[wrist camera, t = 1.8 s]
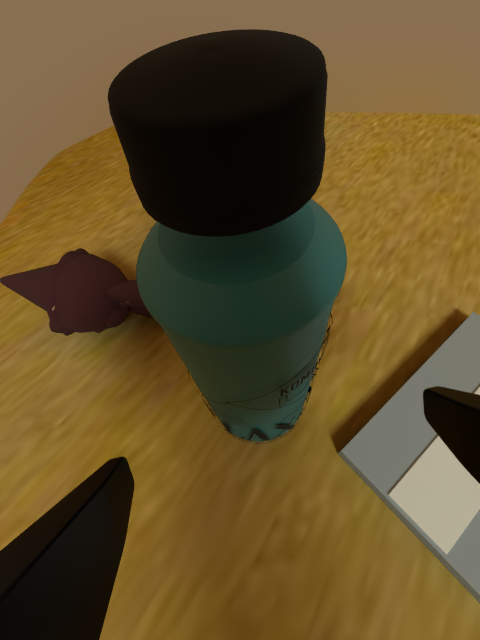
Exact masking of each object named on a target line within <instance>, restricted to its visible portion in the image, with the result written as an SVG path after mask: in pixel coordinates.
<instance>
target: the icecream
mask: <svg viewBox="0 0 480 640" xmlns="http://www.w3.org/2000/svg"><path fill="white" fill-rule="evenodd" d="M0 282H1V283H2V284H3V285H5V286H6V287H8V288H10V289H11V290H13V291H15V292H16V293H18V294H20V295H21V296H23V297H24V298H26V299H28V300H29V301H31V302H33V303H34V304H36V305H37V306H39V307H41V308H42V309H44V310H46V311H47V313H48V316H49V318H50V323H49V325H50V329H51V331H53V332H55V333H63V334H65V335H67V336H68V335H70V334H72V333H74V332H79V333H81V332H92V331H94V332H98V333H99V332H102V331H103V330H105V329H108V328H111V327H116V326H118V325H120V324H121V323H122V322H123V321H124V320H125V319H126V317H127V315H128V311H131V312H134V313H136V314H139V315H143V316H147V317H151V318H153V316H152V315H151V314H150V312H149V311H148V310H147V308H146V306H145V304H144V302H143V300H142V299H141V296H140V293H139V290H138V285H137V281H135V280H127V278H126V277H125V276H124V274H123V273H122V271H121V270H120V269H119V268H118V267H116V266H115V265H114V264H112V263H111V262H109V261H107V260H104V259H102V258H100V257H97V256H95V255H93V254H89V253H88V252H87V251H86V250H84V249H82V248H80V249H77V250H75V251H70V252H68V253H66V254H65V255H63V256H62V258H61V259H60V261H59V263H58V264H55V265H50V266H46V267H42V268H38V269H34V270H30V271H26V272H21V273H17V274H13V275H9V276H5V277H2V278H1V279H0Z"/></svg>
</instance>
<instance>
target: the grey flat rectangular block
mask: <svg viewBox="0 0 480 640" xmlns="http://www.w3.org/2000/svg"><path fill="white" fill-rule="evenodd" d="M435 386H441V387H446V388H450V389H455V390H460V391H464V392H469V393H473V394H478V395H480V316H479V315H478V314H476V313H474V312H473V313H472V314H471V315H470V316H469V317H468V318H467V319H465V320H464V322H463V323H462V324H461V325H460V326H459V327H458V328H457V329H456V330H455V331H454V332H453V333H452V334H451V335H450V336H449V337H448V338H447V339H446V340H445V341H444V342H443V344H442V345H441V346H440V347H439V348H438V349H437V350H436V351H435V352H434V353H433V354H432V355H431V356H430V357H429V358H428V359H427V360H426V361H425V362H424V363H423V365H422V366H421V367H420V368H419V369H418V370H417V371H416V372H415V373H414V374H413V375H412V376H411V377H410V378H409V379H408V380H407V381H406V382H405V383H404V384H403V385H402V387H401V388H400V389H399V390H398V391H397V392H396V393H395V394H394V395H393V396H392V397H391V398H390V399H389V400H388V401H387V402H386V403H385V404H384V405H383V406H382V408H381V409H380V410H379V411H378V412H377V413H376V414H375V415H374V416H373V417H372V418H371V419H370V420H369V421H368V422H367V423H366V424H365V425H364V426H363V427H362V428H361V430H360V431H359V432H358V433H357V434H356V435H355V436H354V437H353V438H352V439H351V440H350V441H349V442H348V443H347V444H346V445H345V446H344V447H343V448H342V449H341V451H340V452H339V453H338V454H339V455H340V457H341V458H342V459H343V460H344V461H345V462H346V463H347V464H348V465H349V466H350V467H351V468H352V469H353V470H354V471H355V472H356V473H357V474H358V475H359V477H360V478H361V479H362V480H363V481H364V482H365V483H366V484H367V485H368V486H369V487H370V488H371V489H372V490H373V491H374V492H375V493H376V494H377V495H378V496H379V498H380V499H381V500H382V501H383V502H384V503H385V504H386V505H387V506H388V507H389V508H390V509H391V510H392V511H393V512H394V513H395V514H396V515H397V516H398V517H399V519H400V520H401V521H402V522H403V523H404V524H405V525H406V526H407V527H408V528H409V529H410V530H411V531H412V532H413V533H414V534H415V535H416V536H417V537H418V539H419V540H420V541H421V542H422V543H423V544H424V545H425V546H426V547H427V548H428V549H429V550H430V551H431V552H432V553H433V554H434V555H435V556H436V557H437V558H438V560H439V561H440V562H441V563H442V564H443V565H444V566H445V567H446V568H447V569H448V570H449V571H450V572H451V573H452V574H453V575H454V576H455V577H456V578H457V580H458V581H459V582H460V583H461V584H462V585H463V586H464V587H465V588H466V589H467V590H468V591H469V592H470V593H471V594H472V595H473V596H474V597H475V598H476V599H477V601H478V602H479V603H480V484H479V483H478V482H477V481H476V480H475V479H474V478H473V476H472V475H471V474H470V473H469V472H468V471H467V470H466V469H465V468H464V467H463V466H462V464H461V463H460V462H459V461H458V460H457V458H456V457H455V456H454V455H453V453H452V452H451V451H450V450H449V448H448V447H447V446H446V445H445V443H444V442H443V441H442V440H441V438H440V437H439V436H438V435H437V433H436V432H435V431H434V430H433V428H432V427H431V426H430V424H429V423H428V422H427V420H426V418H425V415H424V406H423V391H424V390H425V389H426V388H431V387H435Z"/></svg>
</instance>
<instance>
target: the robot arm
mask: <svg viewBox="0 0 480 640" xmlns="http://www.w3.org/2000/svg"><path fill="white" fill-rule="evenodd" d="M423 406H424V415H425V418H426V420H427V422H428V423H429V424H430V426H431V427H432V428H433V430H434V431H435V432H436V433H437V435H438V436H439V437H440V438H441V440H442V441H443V442H444V443H445V445H446V446H447V447H448V448H449V450H450V451H451V452H452V453H453V455H454V456H455V457H456V458H457V460H458V461H459V462H460V463H461V464H462V466H463V467H464V468H465V469H466V470H467V471H468V472H469V473H470V474H471V475H472V476H473V478H474V479H475V480H476V481H477V482H478V483H479V484H480V395H478V394H473V393H469V392H464V391H460V390H455V389H450V388H446V387H441V386H435V387H431V388H426V389H425V390H424V391H423ZM133 492H134V479H133V476H132V473H131V470H130V467H129V464H128V462H127V459H126V458H125V457H118V458H113V459H110V460H109V461H107V462H106V463H105V464H104V465H103V466H101V467H100V468H99V469H98V470H97V471H95V472H94V473H93V474H92V475H91V476H89V477H88V478H87V479H86V480H85V481H83V482H82V483H81V484H80V485H79V486H77V487H76V488H75V489H74V490H73V491H71V492H70V493H69V494H68V495H67V496H65V497H64V498H63V499H62V500H61V501H60V502H58V503H57V504H56V505H55V506H54V507H52V508H51V509H50V510H49V511H48V512H46V513H45V514H44V515H43V516H42V517H40V518H39V519H38V520H37V521H36V522H34V523H33V524H32V525H31V526H30V527H28V528H27V529H26V530H25V531H24V532H22V533H21V534H20V535H19V536H18V537H16V538H15V539H14V540H13V541H12V542H10V543H9V544H8V545H7V546H6V547H4V548H3V549H2V550H1V551H0V640H99V638H100V635H101V631H102V627H103V623H104V620H105V616H106V612H107V609H108V605H109V601H110V597H111V594H112V590H113V586H114V582H115V579H116V575H117V571H118V568H119V564H120V560H121V556H122V553H123V548H124V544H125V539H126V534H127V528H128V522H129V516H130V510H131V504H132V498H133Z"/></svg>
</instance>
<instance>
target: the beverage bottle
mask: <svg viewBox="0 0 480 640" xmlns="http://www.w3.org/2000/svg"><path fill="white" fill-rule="evenodd" d="M326 91H327V71H326V64H325V58H324V56H323V54H322V52H321V51H320V49H319V48H318V47H316V46H315V45H314V44H312V43H311V42H309V41H308V40H306V39H304V38H301V37H298V36H296V35H292V34H288V33H283V32H277V31H270V30H231V31H221V32H213V33H207V34H202V35H198V36H193V37H189V38H185V39H181V40H178V41H175V42H172V43H169V44H167V45H164V46H162V47H159V48H157V49H154V50H152V51H150V52H148V53H146V54H144V55H143V56H141V57H139V58H137V59H136V60H134V61H133V62H132V63H130V64H129V65H127V66H126V67H125V68H124V69H123V70H122V71H121V72H120V73H119V74H118V75H117V76H116V77H115V79H114V80H113V82H112V83H111V86H110V88H109V91H108V102H109V109H110V114H111V117H112V120H113V123H114V126H115V128H116V131H117V134H118V137H119V140H120V142H121V145H122V148H123V151H124V154H125V156H126V159H127V162H128V165H129V171H130V176H131V180H132V182H133V185H134V187H135V190H136V192H137V194H138V196H139V199H140V201H141V203H142V205H143V207H144V209H145V210H146V211H147V213H148V214H149V215H150V216H151V217H152V218H153V219H154V220H156V221H157V222H156V223H155V225H154V226H153V227H152V229H151V230H150V232H149V234H148V235H147V237H146V239H145V241H144V243H143V245H142V247H141V250H140V253H139V256H138V260H137V265H136V278H137V285H138V290H139V293H140V296H141V299H142V300H143V302H144V304H145V306H146V308H147V310H148V311H149V312H150V314H151V315H152V316H153V318H154V319H155V320H156V321H157V322H158V323H159V324H160V325H161V327H162V328H163V330H164V332H165V333H166V335H167V336H168V338H169V340H170V341H171V343H172V344H173V346H174V348H175V349H176V351H177V352H178V354H179V356H180V357H181V359H182V360H183V362H184V364H185V365H186V367H187V369H188V374H189V372H190V373H191V376H192V378H193V380H194V381H195V383H196V384H197V386H198V388H199V389H200V391H201V392H202V394H203V395H204V397H205V398H206V400H207V401H208V403H209V404H210V406H211V408H212V409H213V410H212V411H214V412H215V413H214V414H216V415H217V417H218V418H219V420H220V421H221V423H222V424H223V425H224V427H225V428H226V429H224V430H227V431H228V432H229V433H231V434H234V435H236V436H237V437H239V439H240V438H242V439H245V440H249V442H252V441H267V440H271V439H274V440H275V438H277V437H278V438H279V436H281V435H283V434H284V433H286V432H287V431H288V430H290V429H291V428H292V427H293V426H294V424H295V423H296V421H297V420H298V419H299V416H300V415H301V414H302V412H303V411H302V408H303V405H304V402H305V400H306V398H307V397H306V395H309V396H310V394H307V393H308V392H309V393H311V392H310V391H311V387H310V386H309V385H310V382H311V380H313V377H312V376H313V375H315V376H316V374H313V372H315V371H314V370H315V369H318V368H316V366H317V363H318V362H317V359H318V356H319V353H320V349H321V347H322V345H324V344H325V341H326V340H328V339H326V340H324V342H323V339H324V336H325V333H326V331H327V333H329V331H328V330H329V329H330V326H329V328H328V330H327V325H328V320H329V316H330V314H331V310H332V307H333V303H334V300H335V299H336V297H337V295H338V293H339V291H340V289H341V286H342V284H343V280H344V276H345V272H346V265H347V255H346V247H345V243H344V240H343V236H342V234H341V232H340V230H339V228H338V226H337V224H336V223H335V221H334V220H333V219H332V217H331V216H330V215H329V214H328V213H327V212H326V211H325V210H324V209H323V208H322V207H321V206H320V205H319V204H317V203H316V202H315V201H314V200H312V199H311V198H312V196H313V195H314V194H315V192H316V191H317V189H318V187H319V185H320V181H321V178H322V172H323V165H324V158H325V138H324V123H325V107H326ZM331 317H332V315H331ZM332 324H333V322H332ZM331 330H332V329H331ZM329 335H330V334H329ZM325 337H326V336H325ZM328 337H329V336H328V335H327V338H328ZM322 343H323V344H322ZM326 343H327V342H326ZM326 345H327V344H326ZM326 345H325V346H326ZM325 346H324V348H325ZM324 348H323V349H324ZM324 351H325V349H324ZM324 351H323V353H324ZM323 353H321V354H322V356H323ZM322 356H321V357H322ZM321 359H322V358H321ZM321 359H319V362H320V360H321ZM316 362H317V363H316ZM318 364H319V363H318ZM317 371H318V370H317ZM316 373H317V372H316ZM189 378H190V377H189ZM313 384H314V383H313ZM313 384H312V385H313ZM312 385H311V386H312ZM193 387H194V386H193ZM203 395H202V396H203ZM307 399H309V398H307ZM203 400H204V399H203ZM306 402H308V401H306ZM204 403H205V400H204ZM205 404H206V403H205ZM206 405H207V407H208V404H206ZM306 405H307V404H306ZM208 408H209V407H208ZM305 408H306V407H304V409H305ZM209 410H210V409H209ZM210 411H211V410H210ZM301 411H302V412H301ZM211 413H212V412H211ZM212 414H213V413H212ZM214 414H213V416H215V415H214ZM302 416H303V415H302ZM300 419H301V418H300ZM298 422H299V421H298ZM222 428H223V427H222ZM293 429H294V427H293ZM293 429H292V430H293ZM292 430H291V431H292ZM284 435H285V434H284ZM286 435H287V434H286ZM234 437H235V436H234ZM281 437H282V436H281ZM283 437H284V436H283ZM236 439H237V438H236ZM242 439H241V441H242ZM279 439H280V438H279ZM277 440H278V439H277ZM244 442H245V441H244ZM249 442H248V443H249ZM271 442H272V440H271ZM267 443H268V442H267ZM256 444H258V443H257V442H256Z"/></svg>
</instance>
